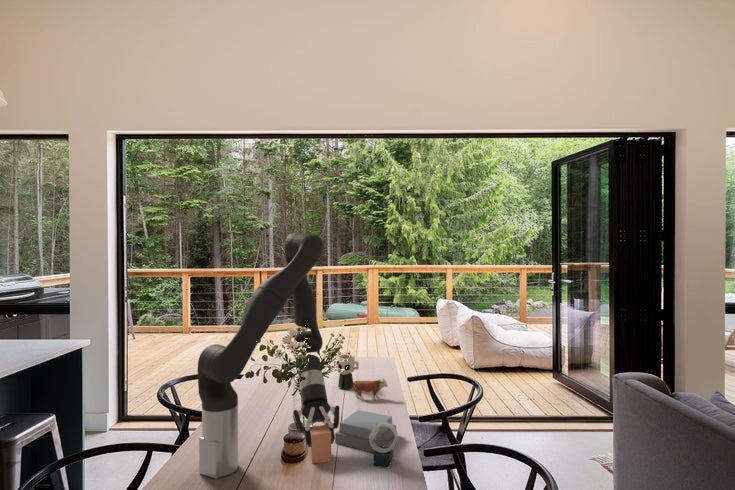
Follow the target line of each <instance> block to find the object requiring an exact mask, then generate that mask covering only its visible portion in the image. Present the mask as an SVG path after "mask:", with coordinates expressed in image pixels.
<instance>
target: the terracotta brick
mask: <svg viewBox="0 0 735 490" xmlns="http://www.w3.org/2000/svg"><path fill="white" fill-rule="evenodd" d="M309 431H310V435H311V443H312V445H311V447H308V446H307V448H308V449H307V450H308V452H307V453H308V454H307V455H308V457H309V460H310V462H311V464H319V463H324V462H325V463H326V462H331V461H332V444H331V431H330V429H329V427H328V426H327V425H324V424H323V425H314V426H310V429H309ZM318 462H319V463H318Z"/></svg>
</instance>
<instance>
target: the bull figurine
mask: <svg viewBox="0 0 735 490" xmlns="http://www.w3.org/2000/svg"><path fill="white" fill-rule="evenodd" d="M386 387H389V384H388V382H387V381H386V379H385V378H375V379H370V380H354V381H353V387H352V388H353V390H354V394H355V398H356V399H360V400H361V401H365V398H364V397H363V396H362V392H364V393H365V395H367V394H368V393H372V395H373V396H372V400H373V401H376V400H377V399H379V398H380V397H379V396H378V393H379V392H380V391H382V389H383V388H386Z"/></svg>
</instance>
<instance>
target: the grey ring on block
mask: <svg viewBox="0 0 735 490" xmlns="http://www.w3.org/2000/svg"><path fill="white" fill-rule="evenodd" d="M393 425H394V424H393V423H392V424H391V423H389V422H384V421H382V422H380V423H377V424H376V425H375V427H374V429H373V430H372V432H371V434H370V435H369V438H370V440H369V442H370V444H371V446H372V448H373V449H374V450H376V451H375V453H374V452H373V462H372V463H373V467H378V466H380V467H379V468H386V467H389V466H391V464H392V462H393V459H394V458H393V457H394V447H395V445H396V443H397V440H398V437H399V436H398V431H397V427H396V428H395V427H394V426H393ZM381 426H386V427H389V428H390V429H392V431H393V432H394V434H395V436H394V437H393V442H392V443H391V444H390V445H389V446H384V447H383V446H377V445H376V444H375V443H374V441H373V439H374V438H375V436H376V435H377V433H378V431H379V430H380V428H381ZM392 458H393V459H392ZM391 461H392V462H391ZM390 463H391V464H390ZM389 468H390V467H389Z"/></svg>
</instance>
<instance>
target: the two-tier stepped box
mask: <svg viewBox="0 0 735 490" xmlns="http://www.w3.org/2000/svg"><path fill="white" fill-rule="evenodd" d="M382 421H384V422H389V423H391V424H392V425H393V426H394V427H395V428H396V429H397V425H396V424H393V416H392V415H391V416H390V415H387V414H381V413H377V412H371V411H367V410H361V409H357V410H356V411H355V412H353V413H352V414H351V415H349V416H348V417H346V418H345V419H343V420H342V421H339V430H338V431H336V432H334V435H335V440H334V443H335V444H336V445H337V444H338V445H341V446H345V447H346V446H347V447H350V448H355V449H359V450H363V451H367V452H369V453H370V452H371V453H373V454H374V453H375V451H376V450H374V449H373V448H372V446H371V444H370V442H369V440H370V438H369V435H370V434H371V432H372V430H373V429H374V427H375V425H376V424H377V423H380V422H382ZM394 436H395V434H394V432H393V431H392V429H390V428H389V427H386V426H381V428H380V430H379V431H378V433H377V435H376V436H375V438H374V439H373V441H374V443H375V444H376V445H377V446H384V445H385V444H386V445H387V444H388V443H389V442H391V440H392V439H394ZM386 445H385V446H386ZM385 446H384V447H385Z"/></svg>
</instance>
